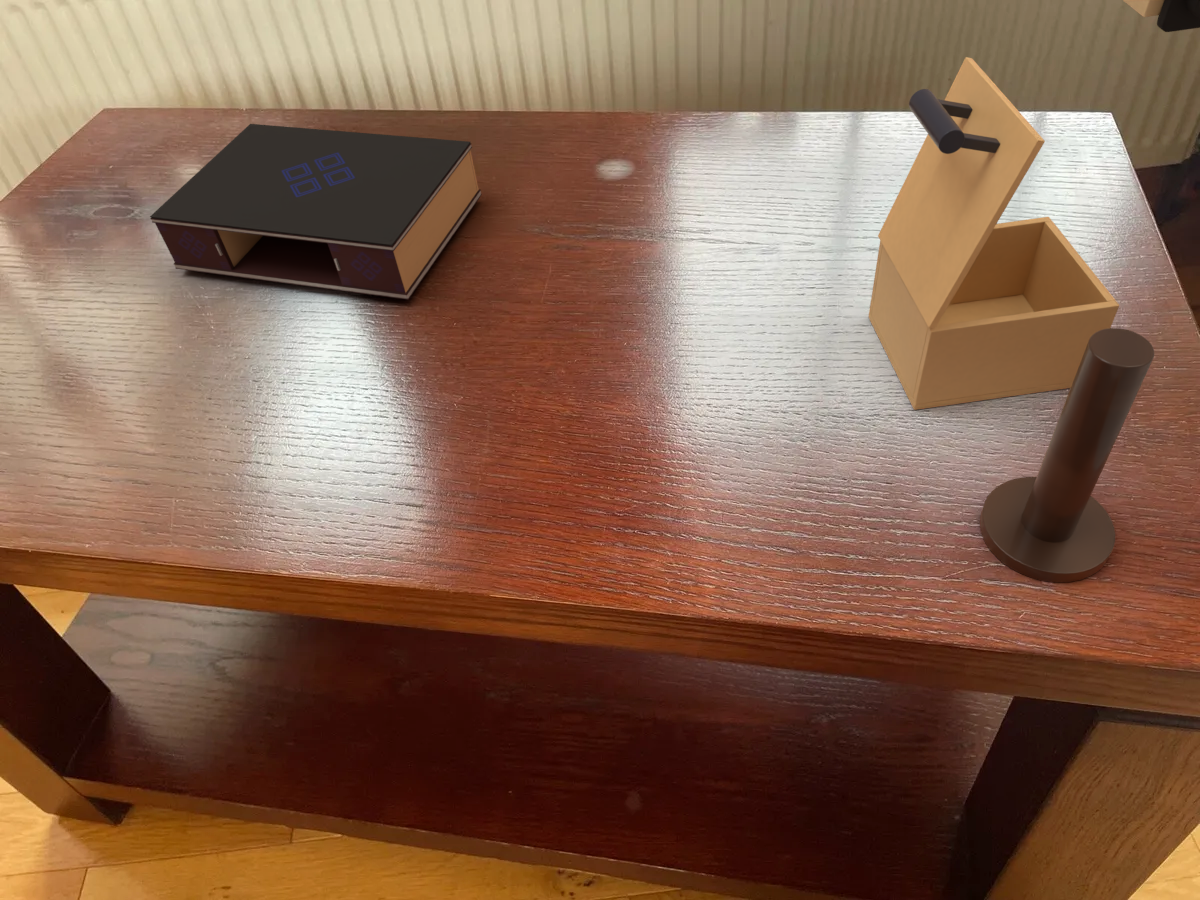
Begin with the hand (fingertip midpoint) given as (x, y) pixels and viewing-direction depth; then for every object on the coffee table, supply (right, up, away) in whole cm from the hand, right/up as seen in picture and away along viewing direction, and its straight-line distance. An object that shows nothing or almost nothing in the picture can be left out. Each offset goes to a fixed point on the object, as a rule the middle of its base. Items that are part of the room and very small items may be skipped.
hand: (1162, 0), depth 47 cm
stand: (+1, -28, +15) cm, 31 cm away
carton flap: (-4, -5, +17) cm, 18 cm away
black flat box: (-54, -2, +46) cm, 71 cm away
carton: (+1, -15, +27) cm, 31 cm away
